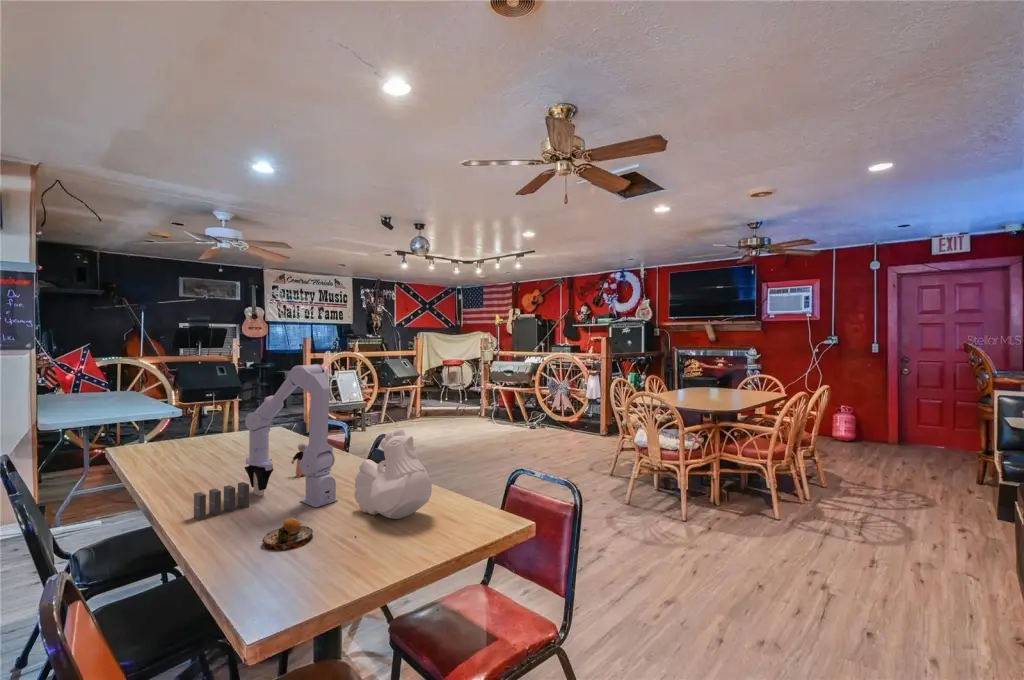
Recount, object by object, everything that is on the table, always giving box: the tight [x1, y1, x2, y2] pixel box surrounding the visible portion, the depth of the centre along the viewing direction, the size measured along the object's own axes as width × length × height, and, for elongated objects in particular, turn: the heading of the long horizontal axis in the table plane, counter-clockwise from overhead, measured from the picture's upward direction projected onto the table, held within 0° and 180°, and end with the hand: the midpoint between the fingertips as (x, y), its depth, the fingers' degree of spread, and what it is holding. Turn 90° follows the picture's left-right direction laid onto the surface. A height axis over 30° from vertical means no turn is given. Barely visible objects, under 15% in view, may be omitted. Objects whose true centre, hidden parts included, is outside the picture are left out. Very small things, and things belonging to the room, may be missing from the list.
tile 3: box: [208, 488, 222, 517], centre depth 138 cm, size 4×2×7 cm, turn 54°
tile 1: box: [237, 481, 250, 509], centre depth 145 cm, size 4×2×7 cm, turn 54°
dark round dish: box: [261, 514, 314, 552], centre depth 121 cm, size 12×12×8 cm
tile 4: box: [193, 491, 207, 521], centre depth 135 cm, size 4×2×7 cm, turn 54°
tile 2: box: [223, 485, 236, 513], centre depth 142 cm, size 4×2×7 cm, turn 54°
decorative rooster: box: [353, 427, 433, 520], centre depth 141 cm, size 25×16×25 cm
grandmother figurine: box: [290, 442, 308, 478], centre depth 177 cm, size 8×4×13 cm, turn 143°
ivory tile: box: [253, 472, 265, 497], centre depth 157 cm, size 4×2×7 cm, turn 54°
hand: (258, 488), depth 157 cm, fingers open, 4 cm apart
